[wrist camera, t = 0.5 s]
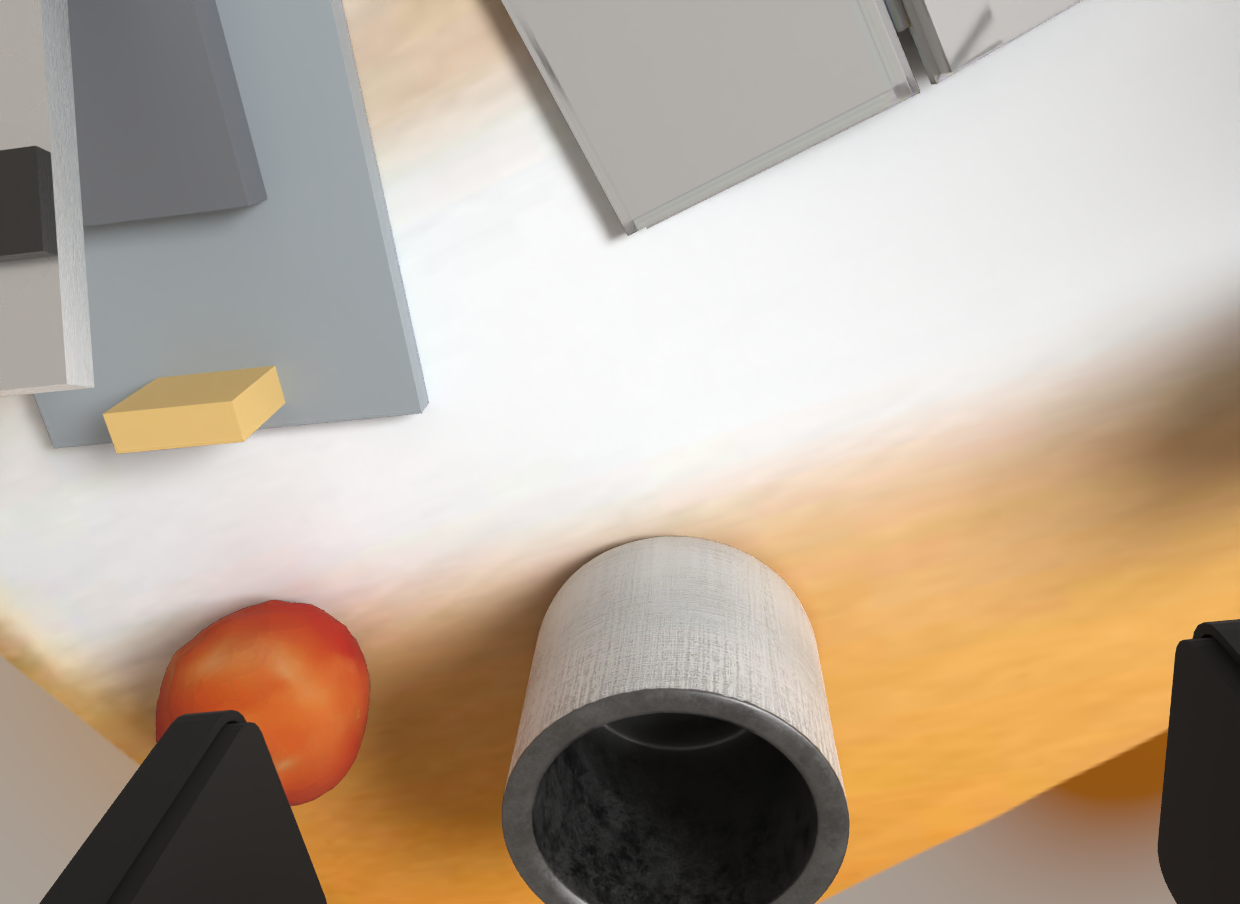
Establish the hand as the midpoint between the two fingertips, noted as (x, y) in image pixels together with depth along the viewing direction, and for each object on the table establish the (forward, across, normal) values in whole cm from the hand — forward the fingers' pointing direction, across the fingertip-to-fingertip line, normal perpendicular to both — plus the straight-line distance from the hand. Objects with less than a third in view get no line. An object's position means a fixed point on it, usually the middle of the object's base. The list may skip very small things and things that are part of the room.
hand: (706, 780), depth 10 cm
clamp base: (+29, +19, -7) cm, 35 cm away
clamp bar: (+22, +19, -8) cm, 31 cm away
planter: (+29, +3, +19) cm, 35 cm away
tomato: (+29, +21, +17) cm, 40 cm away
